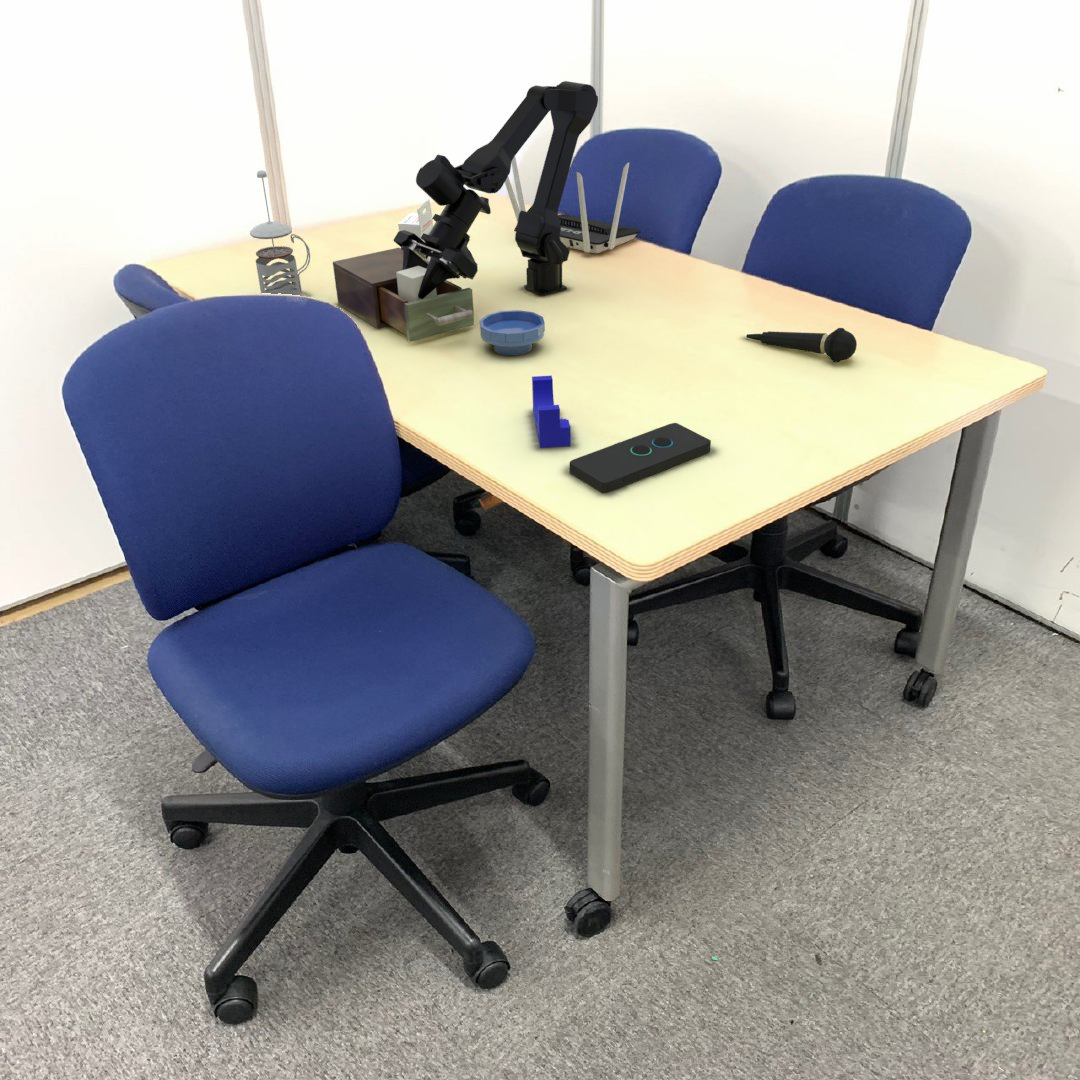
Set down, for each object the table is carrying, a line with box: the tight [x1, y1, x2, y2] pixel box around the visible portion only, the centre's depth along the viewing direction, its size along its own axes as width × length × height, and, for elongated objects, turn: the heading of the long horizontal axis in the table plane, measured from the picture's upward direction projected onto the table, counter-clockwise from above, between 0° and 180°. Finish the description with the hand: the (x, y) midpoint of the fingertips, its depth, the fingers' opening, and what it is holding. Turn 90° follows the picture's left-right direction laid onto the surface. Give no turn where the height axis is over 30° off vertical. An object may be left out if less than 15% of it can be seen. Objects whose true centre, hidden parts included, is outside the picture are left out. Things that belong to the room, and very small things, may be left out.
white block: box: [396, 266, 437, 302], centre depth 186 cm, size 5×5×7 cm
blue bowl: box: [479, 309, 546, 356], centre depth 180 cm, size 11×11×5 cm
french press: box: [249, 170, 311, 297], centre depth 199 cm, size 10×12×25 cm
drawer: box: [376, 279, 475, 343], centre depth 187 cm, size 21×13×7 cm, turn 35°
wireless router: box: [504, 155, 642, 254], centre depth 228 cm, size 34×23×20 cm
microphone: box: [745, 327, 858, 364], centre depth 176 cm, size 6×6×20 cm
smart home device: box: [569, 422, 712, 494], centre depth 144 cm, size 8×2×20 cm
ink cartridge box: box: [397, 198, 434, 262], centre depth 213 cm, size 9×5×15 cm, turn 168°
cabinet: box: [332, 247, 429, 329], centre depth 198 cm, size 17×15×9 cm
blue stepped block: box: [531, 375, 572, 449], centre depth 152 cm, size 12×4×6 cm, turn 5°
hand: (411, 294), depth 186 cm, fingers closed on white block, 5 cm apart
